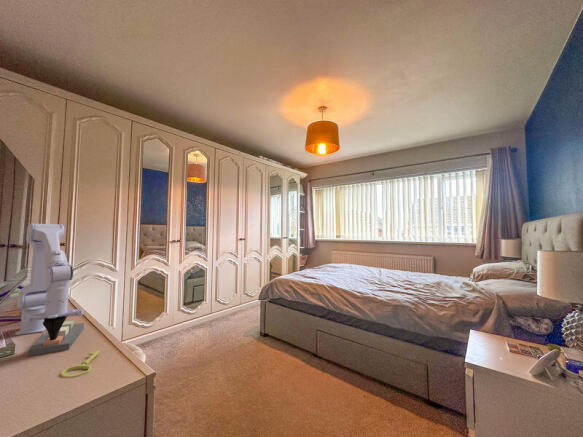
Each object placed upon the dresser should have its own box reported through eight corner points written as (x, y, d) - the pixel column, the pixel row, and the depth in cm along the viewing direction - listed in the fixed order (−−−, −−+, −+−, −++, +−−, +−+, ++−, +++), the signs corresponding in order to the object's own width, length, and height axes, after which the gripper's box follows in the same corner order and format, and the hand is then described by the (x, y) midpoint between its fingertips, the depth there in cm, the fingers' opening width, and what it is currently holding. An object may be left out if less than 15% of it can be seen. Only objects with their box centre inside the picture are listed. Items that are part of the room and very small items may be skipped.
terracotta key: (47, 344, 83) (48, 337, 83) (62, 342, 85) (63, 335, 85) (42, 349, 80) (43, 342, 80) (58, 347, 82) (59, 340, 82)
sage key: (60, 328, 94) (61, 322, 95) (73, 326, 96) (74, 320, 97) (56, 331, 91) (57, 325, 91) (70, 330, 93) (71, 323, 93)
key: (100, 355, 80) (100, 349, 80) (88, 376, 69) (89, 368, 69) (72, 360, 77) (73, 353, 77) (55, 382, 66) (56, 375, 66)
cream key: (54, 334, 89) (55, 328, 89) (68, 332, 91) (69, 326, 91) (50, 338, 85) (51, 332, 86) (65, 336, 87) (65, 330, 88)
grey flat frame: (51, 332, 94) (51, 326, 94) (83, 328, 99) (84, 322, 99) (27, 356, 77) (28, 349, 77) (68, 349, 82) (69, 343, 82)
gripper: (22, 305, 76) (18, 348, 75) (80, 300, 83) (77, 339, 83) (32, 299, 82) (28, 339, 82) (85, 295, 90) (82, 331, 89)
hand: (53, 339), depth 83 cm, fingers closed, pressing on terracotta key
